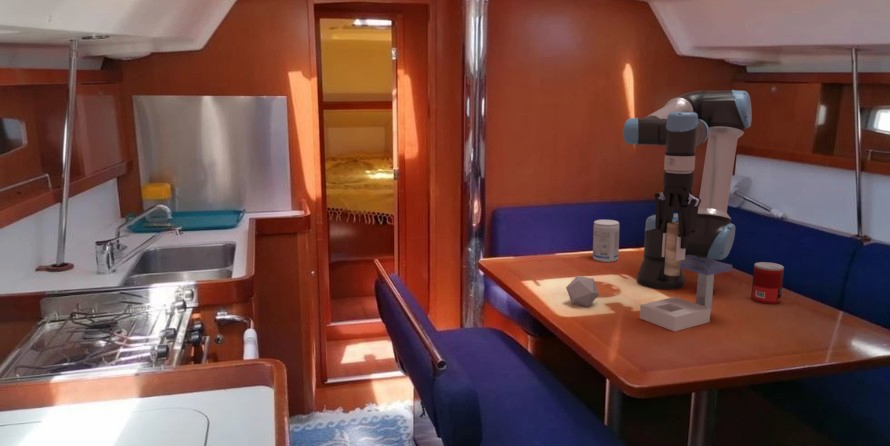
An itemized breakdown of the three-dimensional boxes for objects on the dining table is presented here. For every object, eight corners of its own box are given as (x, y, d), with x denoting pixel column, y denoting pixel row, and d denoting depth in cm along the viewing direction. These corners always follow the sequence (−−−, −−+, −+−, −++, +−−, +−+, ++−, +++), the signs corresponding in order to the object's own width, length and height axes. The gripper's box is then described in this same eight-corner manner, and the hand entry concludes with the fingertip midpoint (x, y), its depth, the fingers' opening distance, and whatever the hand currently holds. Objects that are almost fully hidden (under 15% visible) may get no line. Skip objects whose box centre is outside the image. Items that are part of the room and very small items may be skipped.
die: (603, 305, 191) (591, 274, 195) (601, 299, 183) (589, 267, 187) (575, 314, 193) (565, 283, 196) (572, 308, 184) (561, 276, 188)
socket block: (639, 318, 178) (640, 304, 177) (674, 309, 184) (675, 296, 184) (674, 331, 167) (675, 317, 167) (709, 322, 174) (710, 308, 174)
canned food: (783, 305, 188) (787, 269, 186) (754, 303, 190) (758, 267, 188) (776, 297, 196) (779, 262, 194) (748, 295, 197) (751, 261, 195)
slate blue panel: (663, 310, 184) (666, 258, 181) (686, 305, 188) (690, 254, 186) (704, 325, 172) (708, 270, 169) (728, 319, 177) (732, 265, 174)
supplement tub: (608, 255, 249) (610, 218, 246) (623, 261, 240) (625, 223, 237) (587, 257, 245) (588, 220, 242) (601, 263, 237) (603, 224, 234)
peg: (671, 271, 175) (674, 221, 172) (683, 274, 172) (686, 223, 169) (660, 273, 173) (664, 222, 170) (672, 276, 170) (676, 225, 167)
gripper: (643, 169, 172) (639, 253, 177) (696, 175, 158) (689, 266, 162) (663, 168, 176) (658, 250, 181) (716, 173, 162) (709, 263, 166)
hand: (673, 257), depth 171 cm, fingers closed on peg, 4 cm apart
